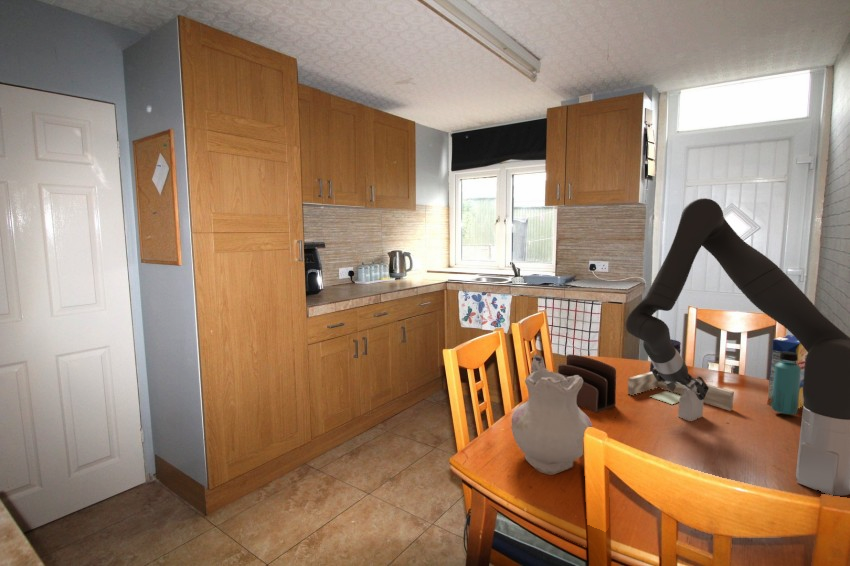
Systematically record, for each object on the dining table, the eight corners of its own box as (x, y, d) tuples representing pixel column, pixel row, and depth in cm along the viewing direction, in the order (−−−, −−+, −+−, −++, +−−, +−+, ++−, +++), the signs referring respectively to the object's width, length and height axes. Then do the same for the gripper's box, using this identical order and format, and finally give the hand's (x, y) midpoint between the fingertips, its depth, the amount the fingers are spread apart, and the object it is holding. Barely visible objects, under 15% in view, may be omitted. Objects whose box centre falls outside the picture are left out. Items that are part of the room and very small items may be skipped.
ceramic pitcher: (494, 448, 117) (489, 360, 113) (554, 430, 123) (551, 347, 120) (542, 493, 97) (538, 388, 93) (611, 470, 103) (610, 370, 99)
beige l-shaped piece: (703, 421, 130) (705, 402, 129) (627, 394, 152) (628, 377, 151) (732, 409, 138) (733, 391, 138) (656, 385, 160) (657, 369, 159)
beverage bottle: (802, 420, 130) (809, 355, 128) (777, 418, 132) (783, 354, 129) (789, 411, 137) (795, 349, 134) (765, 409, 138) (770, 348, 136)
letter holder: (566, 388, 158) (568, 351, 156) (616, 407, 141) (618, 365, 140) (548, 394, 153) (549, 355, 151) (596, 414, 136) (598, 370, 134)
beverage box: (766, 404, 143) (773, 339, 140) (782, 397, 148) (788, 334, 145) (792, 411, 137) (799, 343, 134) (807, 404, 142) (814, 339, 139)
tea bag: (702, 416, 133) (704, 385, 132) (690, 421, 130) (692, 389, 129) (689, 412, 137) (692, 381, 135) (678, 417, 133) (680, 385, 132)
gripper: (699, 358, 119) (718, 390, 126) (650, 346, 131) (669, 376, 138) (687, 380, 117) (707, 411, 124) (638, 366, 129) (658, 395, 136)
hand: (687, 392), depth 131 cm, fingers open, 8 cm apart
